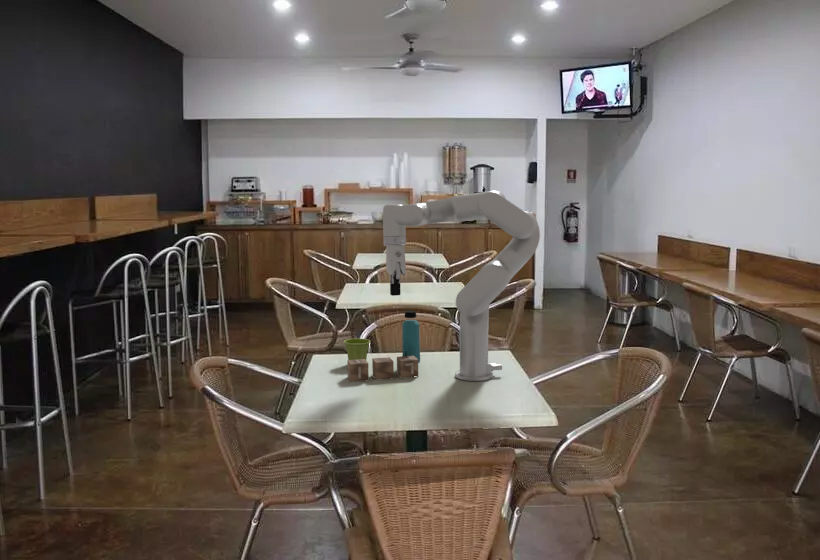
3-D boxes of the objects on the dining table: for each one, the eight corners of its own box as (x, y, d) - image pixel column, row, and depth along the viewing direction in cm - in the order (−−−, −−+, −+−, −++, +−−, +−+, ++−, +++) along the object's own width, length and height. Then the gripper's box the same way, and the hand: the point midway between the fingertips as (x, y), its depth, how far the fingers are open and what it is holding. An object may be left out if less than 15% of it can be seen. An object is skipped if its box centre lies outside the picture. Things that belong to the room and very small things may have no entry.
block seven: (414, 372, 246) (413, 355, 245) (418, 377, 240) (418, 359, 239) (397, 373, 245) (396, 356, 244) (401, 378, 239) (400, 360, 238)
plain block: (389, 374, 244) (389, 357, 243) (393, 378, 238) (393, 361, 237) (372, 375, 243) (372, 358, 242) (376, 380, 237) (375, 362, 236)
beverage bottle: (423, 365, 255) (423, 310, 252) (414, 369, 249) (413, 313, 247) (408, 363, 258) (407, 308, 256) (398, 367, 253) (397, 311, 250)
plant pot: (358, 360, 264) (358, 337, 263) (375, 364, 257) (375, 340, 256) (339, 364, 257) (338, 341, 256) (356, 369, 251) (356, 345, 250)
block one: (365, 376, 242) (365, 358, 241) (368, 380, 236) (368, 362, 235) (347, 377, 241) (347, 359, 240) (350, 382, 235) (350, 364, 234)
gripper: (410, 242, 233) (411, 297, 236) (400, 239, 248) (401, 291, 250) (388, 243, 231) (389, 299, 234) (379, 239, 246) (380, 292, 248)
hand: (395, 294), depth 242 cm, fingers closed
